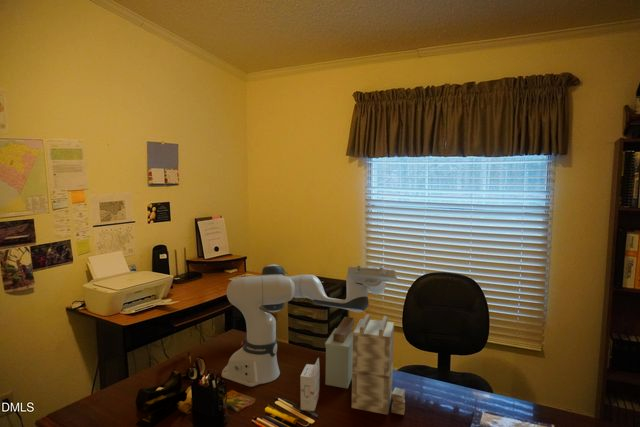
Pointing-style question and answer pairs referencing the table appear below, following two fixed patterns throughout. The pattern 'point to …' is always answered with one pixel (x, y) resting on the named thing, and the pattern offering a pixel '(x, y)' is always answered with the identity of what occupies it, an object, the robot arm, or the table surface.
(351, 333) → the pale grey upright box
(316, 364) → the ink cartridge box
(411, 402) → the table surface
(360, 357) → the birch rack
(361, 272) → the robot arm
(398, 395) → the offcut stack
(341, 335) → the walnut strip
